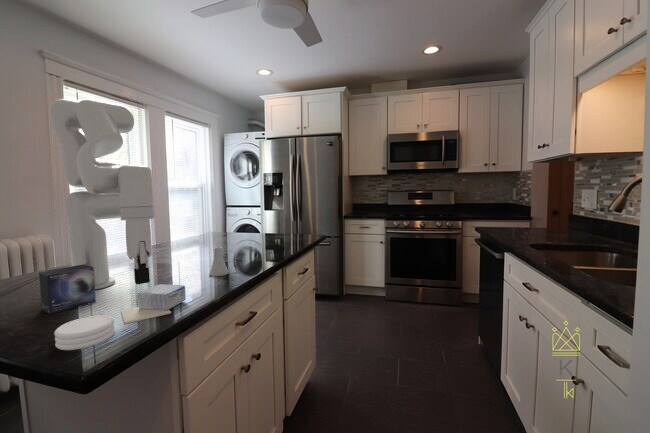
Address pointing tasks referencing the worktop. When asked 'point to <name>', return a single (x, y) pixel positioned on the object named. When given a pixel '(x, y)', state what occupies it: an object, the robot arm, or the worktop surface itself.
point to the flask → (218, 264)
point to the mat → (141, 314)
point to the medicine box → (161, 297)
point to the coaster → (84, 332)
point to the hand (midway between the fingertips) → (142, 282)
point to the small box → (67, 288)
